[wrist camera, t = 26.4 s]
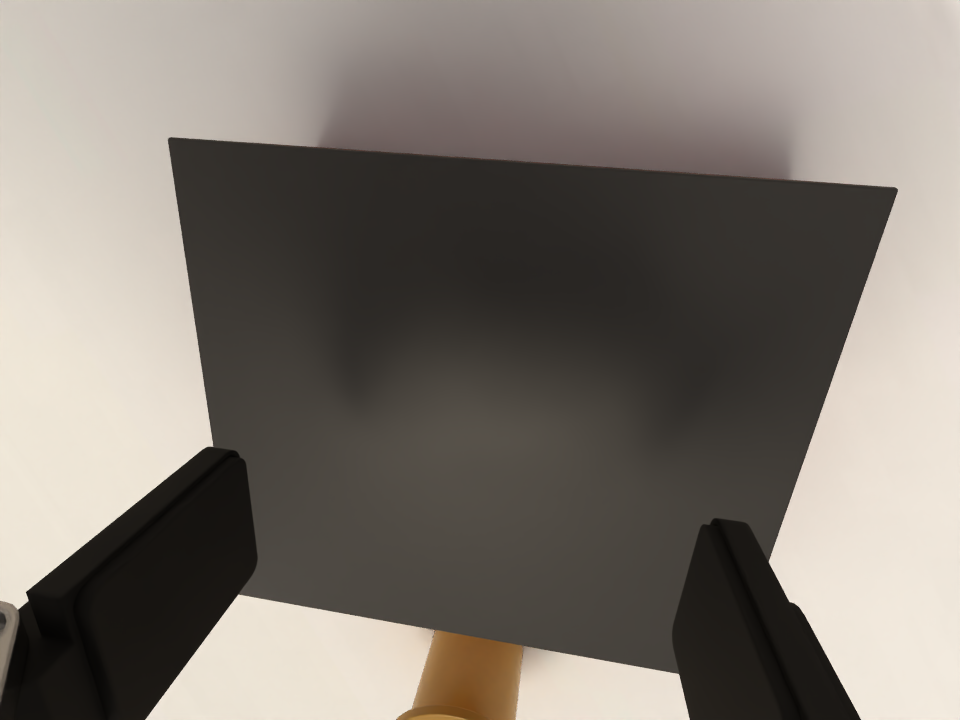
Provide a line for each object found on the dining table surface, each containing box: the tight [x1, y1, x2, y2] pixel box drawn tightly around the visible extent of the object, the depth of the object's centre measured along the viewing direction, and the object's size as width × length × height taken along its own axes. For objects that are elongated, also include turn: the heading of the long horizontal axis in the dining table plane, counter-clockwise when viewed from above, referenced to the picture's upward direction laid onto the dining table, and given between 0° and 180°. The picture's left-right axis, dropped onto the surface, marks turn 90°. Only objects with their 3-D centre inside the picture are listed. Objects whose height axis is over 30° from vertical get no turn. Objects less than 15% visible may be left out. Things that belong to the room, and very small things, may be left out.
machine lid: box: [168, 137, 898, 674], centre depth 14 cm, size 16×15×1 cm
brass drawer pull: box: [396, 630, 523, 720], centre depth 22 cm, size 6×6×5 cm
